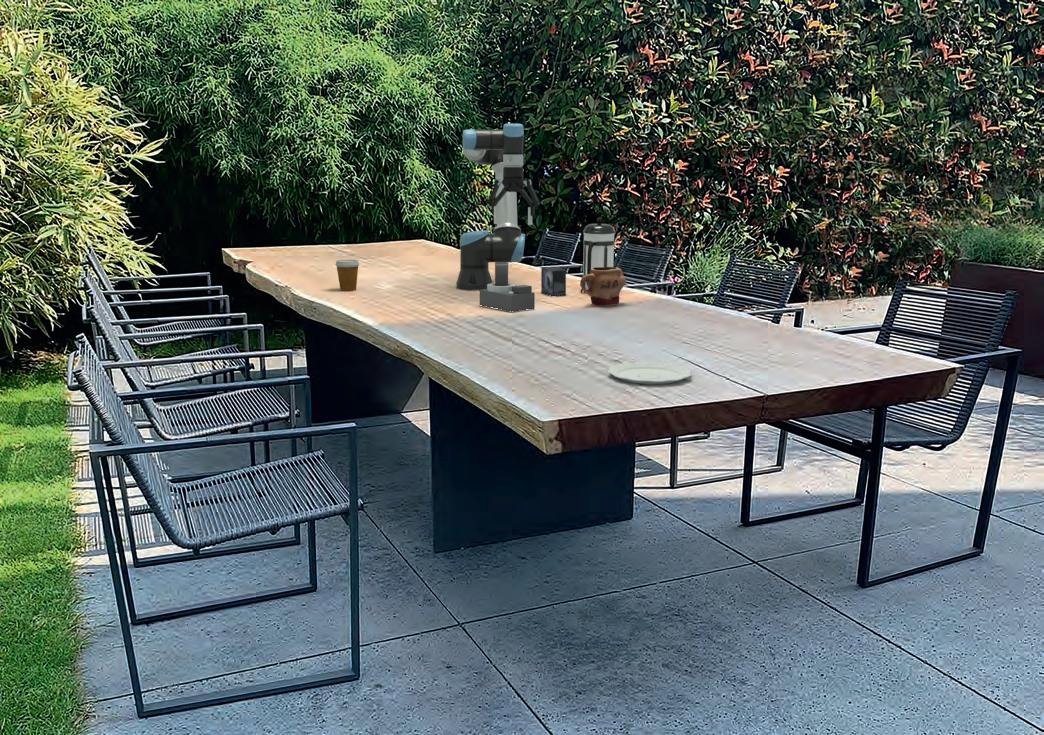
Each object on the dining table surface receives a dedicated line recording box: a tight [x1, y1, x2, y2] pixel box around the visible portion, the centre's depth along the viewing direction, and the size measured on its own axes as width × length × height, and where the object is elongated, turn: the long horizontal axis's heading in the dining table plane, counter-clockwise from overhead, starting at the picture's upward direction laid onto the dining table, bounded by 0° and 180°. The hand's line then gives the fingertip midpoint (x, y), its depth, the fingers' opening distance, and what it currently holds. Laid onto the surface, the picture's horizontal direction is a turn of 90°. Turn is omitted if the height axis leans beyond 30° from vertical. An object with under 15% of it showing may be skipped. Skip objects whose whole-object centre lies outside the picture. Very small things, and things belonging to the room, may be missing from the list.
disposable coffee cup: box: [335, 259, 360, 292], centre depth 381 cm, size 10×10×12 cm
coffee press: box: [580, 216, 616, 294], centre depth 376 cm, size 17×16×30 cm
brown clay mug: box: [579, 266, 627, 307], centre depth 347 cm, size 20×12×14 cm, turn 128°
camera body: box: [478, 282, 536, 313], centre depth 341 cm, size 18×11×8 cm, turn 41°
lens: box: [494, 262, 509, 286], centre depth 342 cm, size 5×5×10 cm
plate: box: [607, 361, 692, 385], centre depth 239 cm, size 21×21×2 cm
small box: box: [540, 266, 567, 297], centre depth 373 cm, size 11×6×10 cm, turn 25°
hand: (513, 224), depth 354 cm, fingers open, 13 cm apart
